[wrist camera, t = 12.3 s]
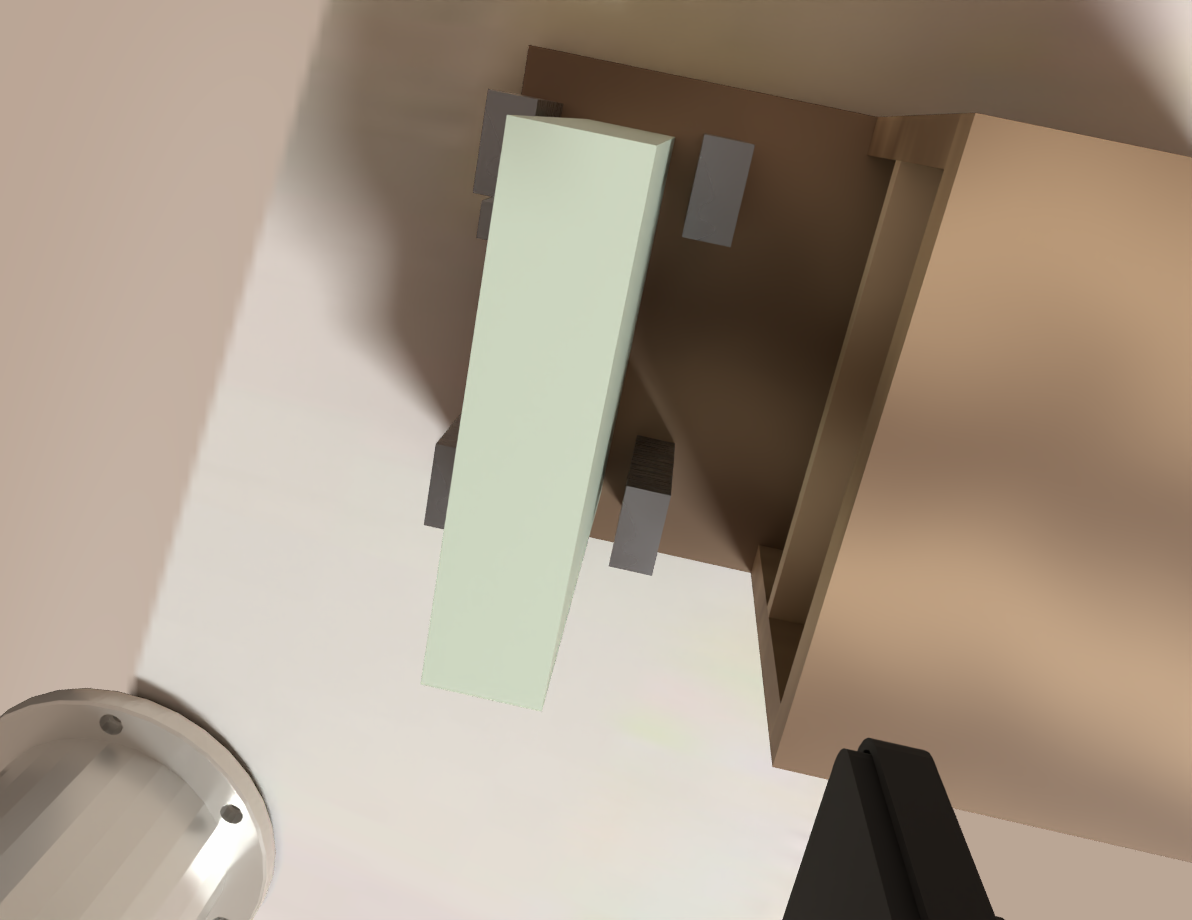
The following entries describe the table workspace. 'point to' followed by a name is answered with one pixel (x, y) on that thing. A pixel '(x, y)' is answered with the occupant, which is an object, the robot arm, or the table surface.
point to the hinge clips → (704, 221)
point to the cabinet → (931, 438)
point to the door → (541, 396)
